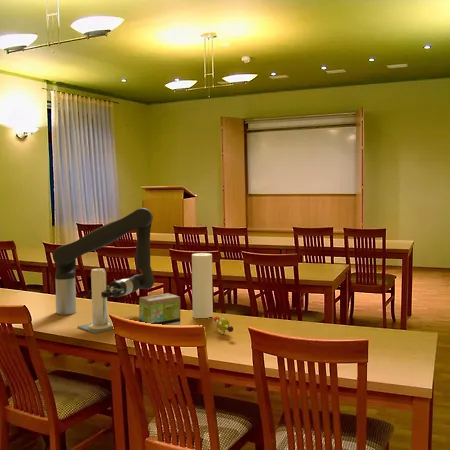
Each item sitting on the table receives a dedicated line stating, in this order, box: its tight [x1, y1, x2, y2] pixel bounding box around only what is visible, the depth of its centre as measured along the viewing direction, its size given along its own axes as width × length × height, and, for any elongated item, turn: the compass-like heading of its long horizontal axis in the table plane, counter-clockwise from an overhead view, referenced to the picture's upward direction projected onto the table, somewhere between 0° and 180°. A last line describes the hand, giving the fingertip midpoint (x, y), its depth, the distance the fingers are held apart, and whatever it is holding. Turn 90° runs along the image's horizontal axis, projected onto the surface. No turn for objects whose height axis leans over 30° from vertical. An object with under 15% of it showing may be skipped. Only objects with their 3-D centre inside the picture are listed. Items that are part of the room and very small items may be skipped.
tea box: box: [138, 292, 181, 326], centre depth 217 cm, size 15×10×15 cm, turn 129°
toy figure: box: [213, 316, 234, 335], centre depth 211 cm, size 18×6×7 cm, turn 21°
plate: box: [77, 320, 114, 335], centre depth 223 cm, size 14×14×1 cm
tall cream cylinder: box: [90, 268, 109, 327], centre depth 222 cm, size 6×6×25 cm
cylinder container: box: [191, 252, 214, 319], centre depth 239 cm, size 9×9×30 cm
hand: (96, 294), depth 220 cm, fingers open, 8 cm apart
